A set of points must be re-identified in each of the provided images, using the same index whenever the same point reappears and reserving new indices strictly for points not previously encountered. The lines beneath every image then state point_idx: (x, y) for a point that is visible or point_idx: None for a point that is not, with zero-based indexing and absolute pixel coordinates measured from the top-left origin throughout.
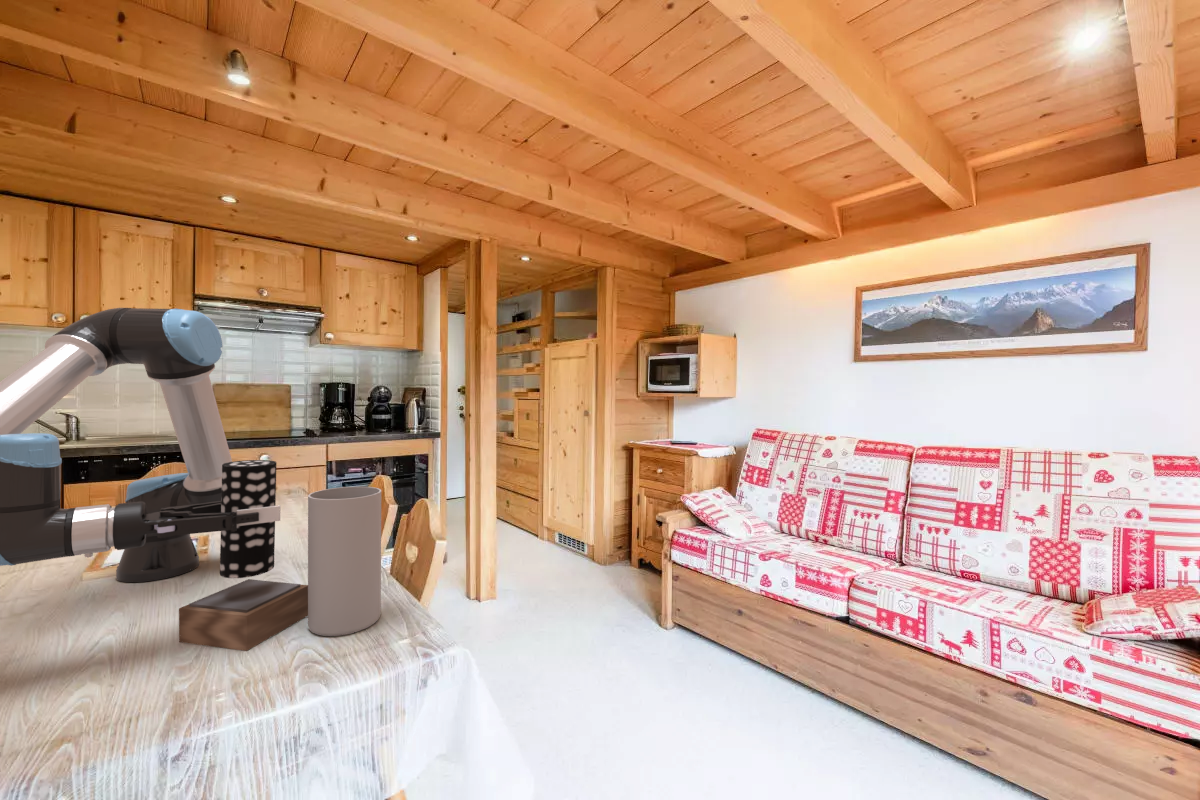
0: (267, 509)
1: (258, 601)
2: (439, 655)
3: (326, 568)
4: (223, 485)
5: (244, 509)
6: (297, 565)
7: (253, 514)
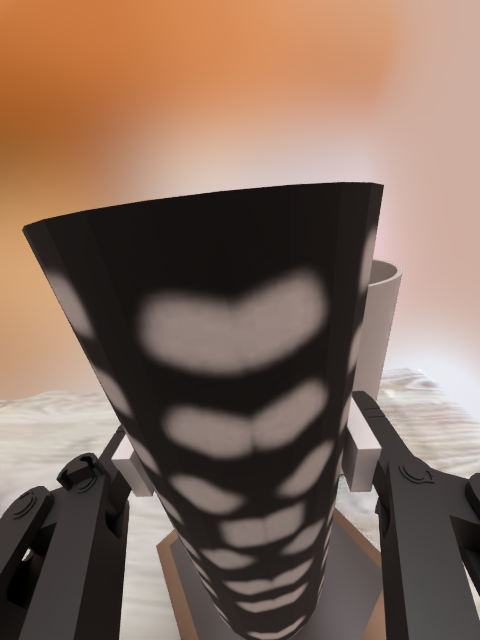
0: None
1: (335, 537)
2: (429, 377)
3: (378, 388)
4: (272, 412)
5: (349, 419)
6: (63, 457)
7: (376, 405)
